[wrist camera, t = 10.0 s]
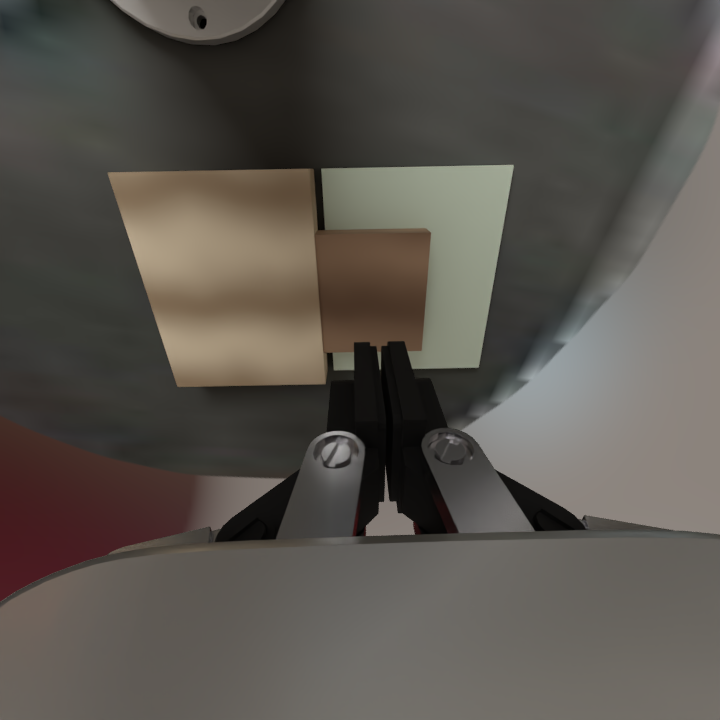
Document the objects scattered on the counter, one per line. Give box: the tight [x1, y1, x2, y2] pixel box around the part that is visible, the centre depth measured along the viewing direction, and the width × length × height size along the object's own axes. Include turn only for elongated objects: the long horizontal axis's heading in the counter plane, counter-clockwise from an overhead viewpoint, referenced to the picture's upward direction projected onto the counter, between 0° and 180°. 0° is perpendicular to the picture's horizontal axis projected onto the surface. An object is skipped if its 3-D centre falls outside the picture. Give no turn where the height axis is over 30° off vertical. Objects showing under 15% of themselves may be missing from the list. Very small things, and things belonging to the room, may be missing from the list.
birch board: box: [108, 169, 328, 387], centre depth 23 cm, size 14×11×2 cm
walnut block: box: [315, 228, 431, 353], centre depth 23 cm, size 8×7×2 cm
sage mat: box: [321, 165, 514, 370], centre depth 24 cm, size 14×12×1 cm
